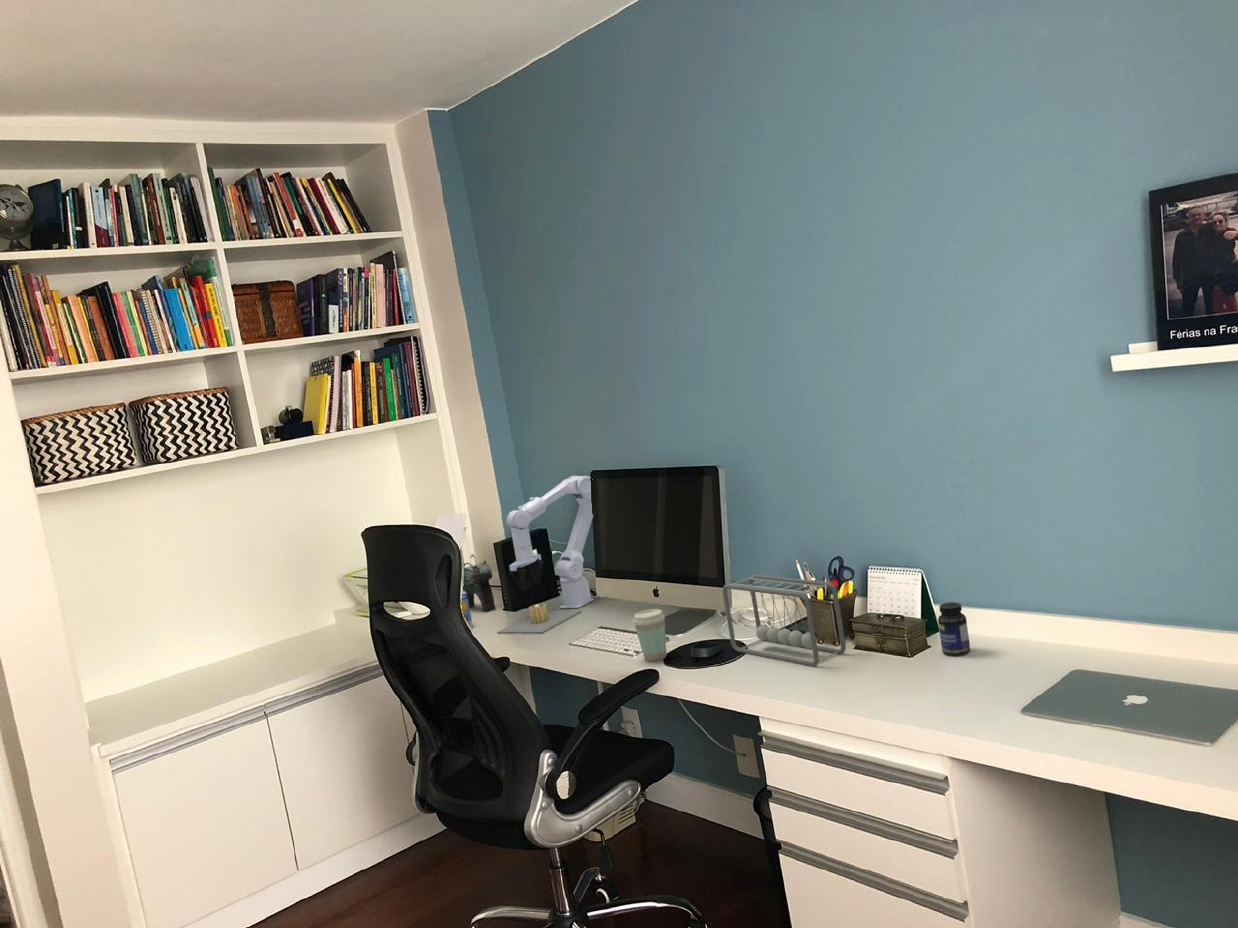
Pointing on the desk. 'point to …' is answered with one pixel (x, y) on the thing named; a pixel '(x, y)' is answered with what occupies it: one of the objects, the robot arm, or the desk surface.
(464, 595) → the ink cartridge box
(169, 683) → the desk surface
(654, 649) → the coffee cup
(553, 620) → the grey square plate
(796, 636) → the newton's cradle
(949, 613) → the pill bottle
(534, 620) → the wooden link ring
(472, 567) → the toy ray gun
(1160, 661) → the desk surface
